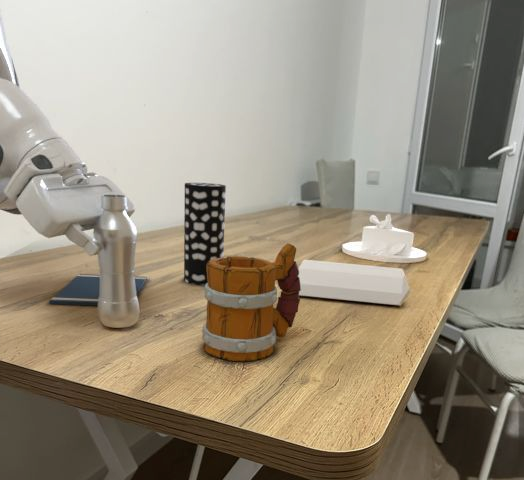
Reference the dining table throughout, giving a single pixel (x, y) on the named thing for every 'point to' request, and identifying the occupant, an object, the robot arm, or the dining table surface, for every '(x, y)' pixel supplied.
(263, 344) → the mug
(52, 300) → the towel
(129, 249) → the silver metal bottle
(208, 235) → the white-spotted black cylinder
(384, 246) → the dish
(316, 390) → the dining table surface
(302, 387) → the dining table surface
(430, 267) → the dining table surface
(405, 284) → the white hexagonal prism
